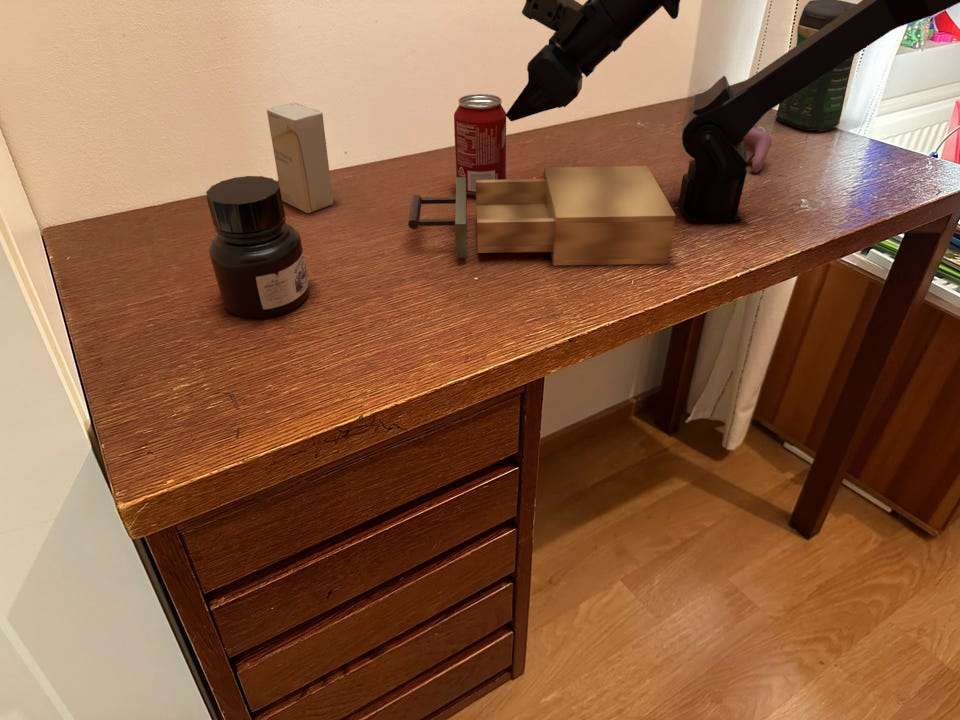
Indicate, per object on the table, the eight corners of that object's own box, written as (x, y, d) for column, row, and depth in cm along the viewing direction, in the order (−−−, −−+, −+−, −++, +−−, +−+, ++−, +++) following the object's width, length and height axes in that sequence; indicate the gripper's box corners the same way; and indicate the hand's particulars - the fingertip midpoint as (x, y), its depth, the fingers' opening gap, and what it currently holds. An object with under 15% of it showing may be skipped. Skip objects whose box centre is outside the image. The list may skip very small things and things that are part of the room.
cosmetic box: (281, 201, 92) (263, 109, 85) (308, 191, 95) (293, 101, 88) (309, 214, 89) (292, 119, 82) (336, 204, 92) (323, 110, 84)
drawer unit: (553, 265, 78) (556, 217, 74) (541, 211, 89) (543, 167, 86) (667, 263, 78) (676, 215, 74) (641, 209, 89) (647, 165, 86)
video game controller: (762, 177, 101) (778, 128, 100) (758, 173, 97) (775, 122, 96) (697, 164, 106) (711, 117, 104) (690, 159, 102) (705, 111, 100)
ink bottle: (288, 326, 68) (265, 214, 61) (206, 318, 70) (173, 207, 62) (323, 277, 76) (306, 172, 69) (248, 271, 77) (223, 167, 70)
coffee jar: (846, 128, 114) (884, 3, 102) (809, 135, 111) (845, 8, 100) (802, 112, 121) (833, -7, 110) (766, 118, 118) (795, -3, 107)
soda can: (500, 201, 92) (501, 109, 85) (451, 197, 93) (447, 106, 86) (509, 181, 97) (510, 93, 90) (462, 178, 98) (460, 91, 91)
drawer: (408, 258, 77) (405, 224, 75) (414, 209, 88) (412, 177, 86) (561, 256, 78) (564, 222, 75) (550, 207, 88) (552, 175, 86)
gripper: (581, -55, 83) (492, 39, 92) (552, -34, 69) (450, 75, 78) (639, 20, 86) (547, 104, 95) (623, 55, 72) (516, 150, 81)
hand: (517, 106), depth 87 cm, fingers open, 9 cm apart
